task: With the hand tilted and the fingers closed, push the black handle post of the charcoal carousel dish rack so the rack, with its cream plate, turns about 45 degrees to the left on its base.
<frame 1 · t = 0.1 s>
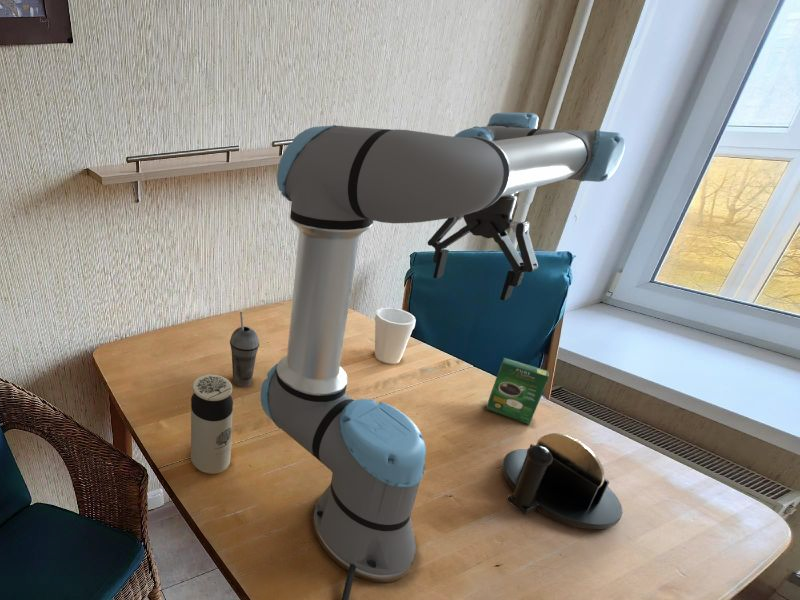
hand: (469, 287, 94), 28 cm above the table, tool pointing down, fingers open, 13 cm apart
rack base: (555, 492, 78), on the table
foam cup: (387, 357, 118), on the table
coffee box: (508, 415, 96), on the table
beverage cup: (242, 381, 110), on the table
travel mug: (210, 459, 87), on the table
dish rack: (562, 463, 74), point 8 cm above the table, hinge at 0.0°
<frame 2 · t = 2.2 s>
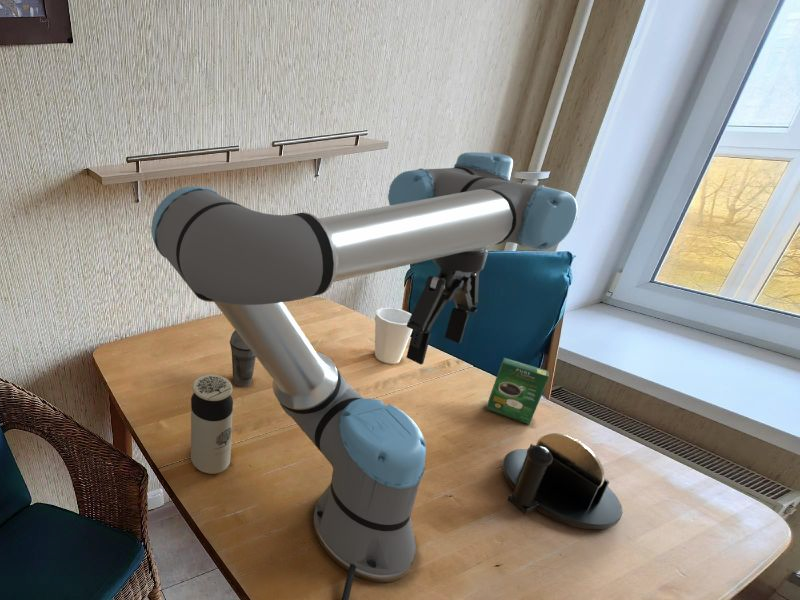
hand: (434, 349, 81), 23 cm above the table, tool pointing down, fingers open, 13 cm apart
nothing on the table moved.
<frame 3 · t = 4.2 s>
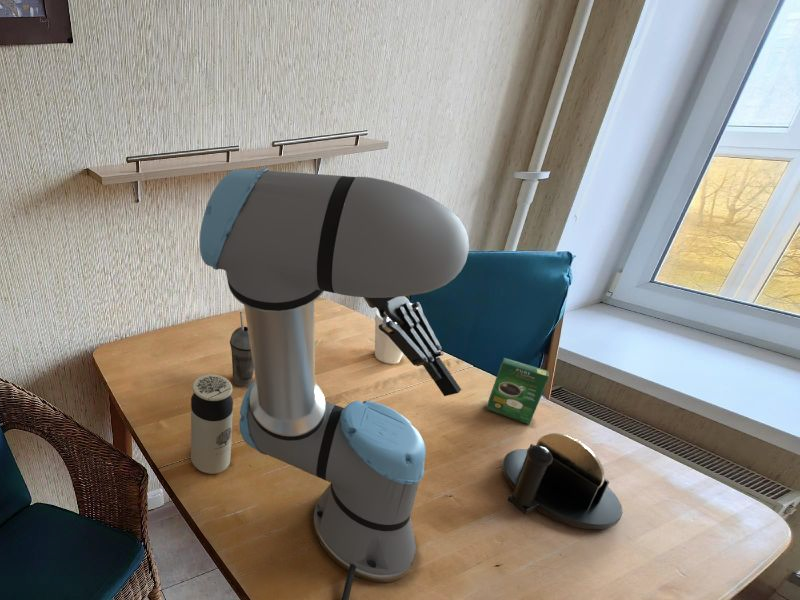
hand: (452, 392, 79), 17 cm above the table, tool tilted 45°, fingers closed
nothing on the table moved.
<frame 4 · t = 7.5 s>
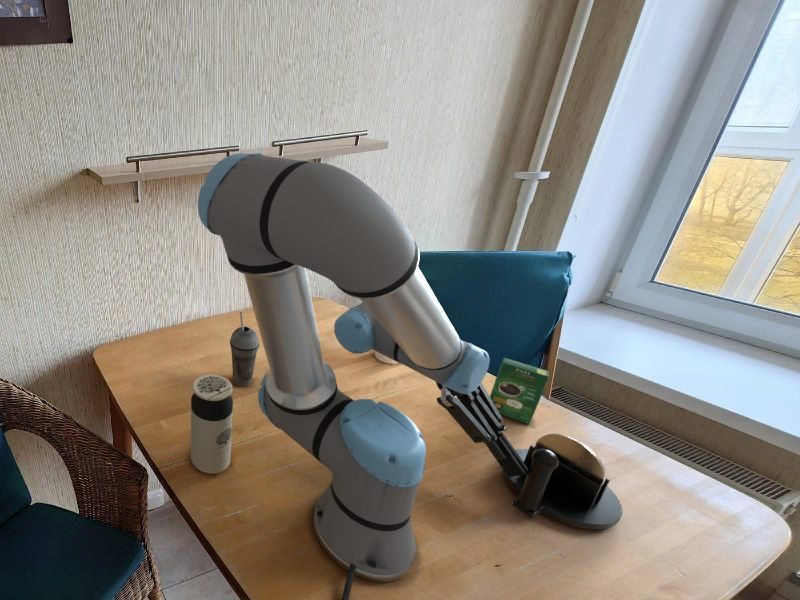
hand: (517, 472, 73), 7 cm above the table, tool tilted 45°, fingers closed
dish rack: (563, 463, 74), point 8 cm above the table, hinge at 4.6°, touching gripper
everything else where it was.
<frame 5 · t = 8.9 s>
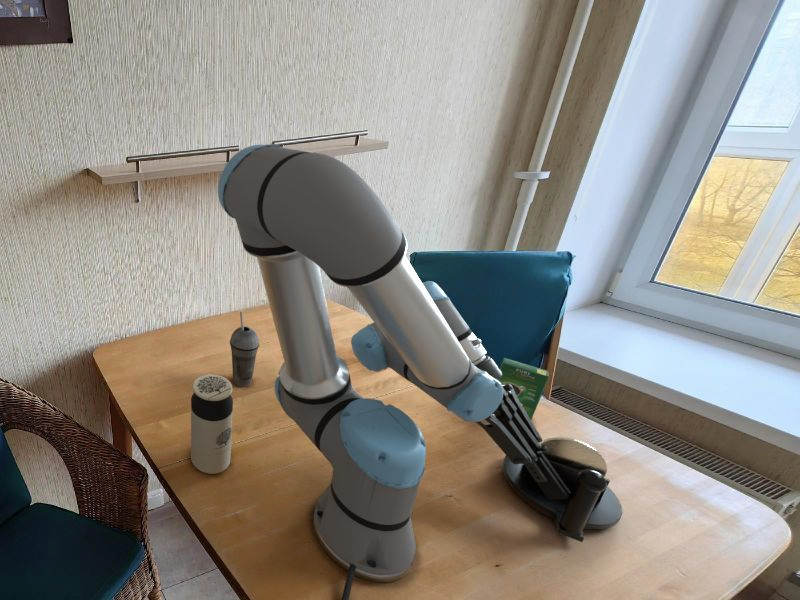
hand: (559, 495, 69), 7 cm above the table, tool tilted 45°, fingers closed, pressing on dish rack
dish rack: (570, 467, 73), point 8 cm above the table, hinge at 36.6°, touching gripper
everything else where it was.
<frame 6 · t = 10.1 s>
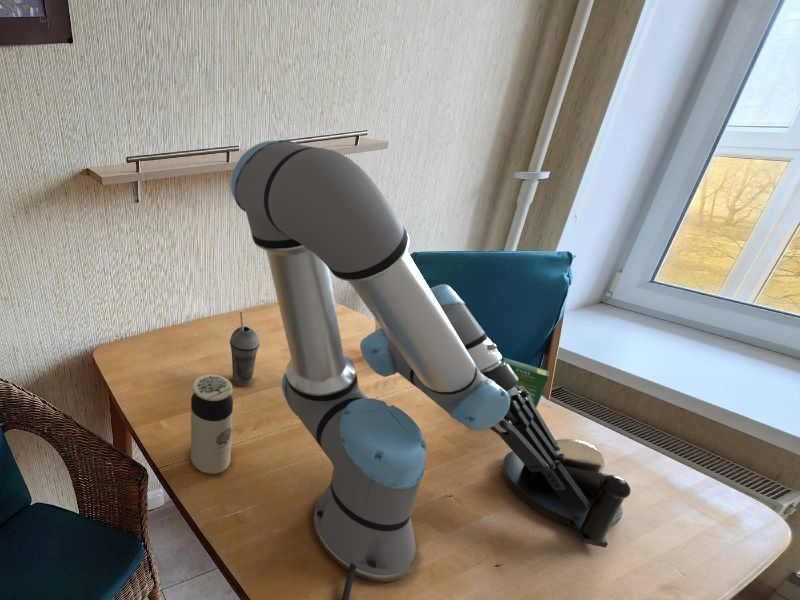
hand: (577, 505, 67), 7 cm above the table, tool tilted 45°, fingers closed
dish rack: (574, 468, 73), point 8 cm above the table, hinge at 51.7°
everything else where it was.
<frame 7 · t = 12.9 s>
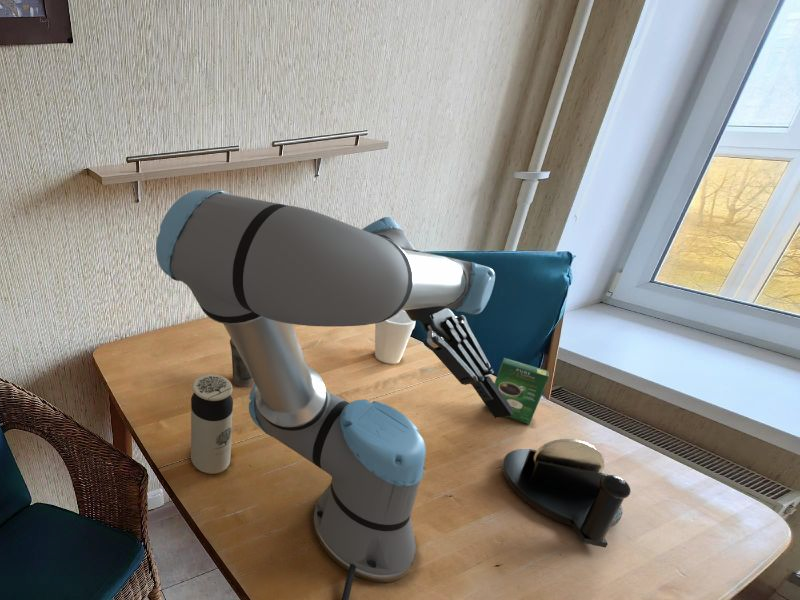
hand: (504, 414, 72), 17 cm above the table, tool tilted 45°, fingers closed
nothing on the table moved.
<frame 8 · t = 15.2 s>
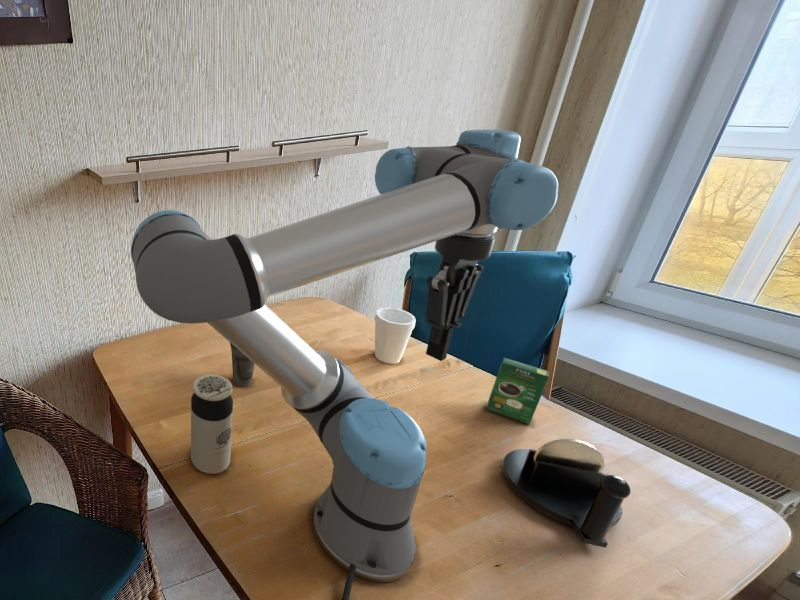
hand: (435, 356, 76), 24 cm above the table, tool pointing down, fingers closed
nothing on the table moved.
at the end: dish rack at +52° (first picture: +0°) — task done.
